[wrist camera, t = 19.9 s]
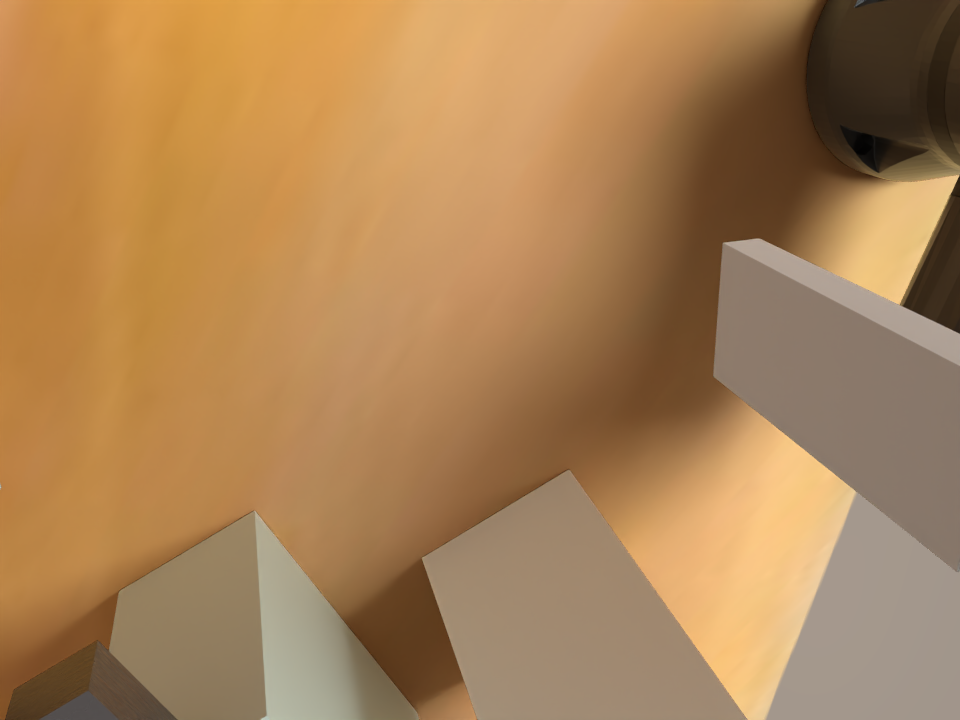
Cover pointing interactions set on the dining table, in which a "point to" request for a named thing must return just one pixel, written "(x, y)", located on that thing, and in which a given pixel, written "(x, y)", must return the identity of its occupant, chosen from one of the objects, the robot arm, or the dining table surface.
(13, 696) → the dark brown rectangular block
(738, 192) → the dining table surface
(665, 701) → the taupe rectangular block
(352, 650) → the grey-green rectangular block
